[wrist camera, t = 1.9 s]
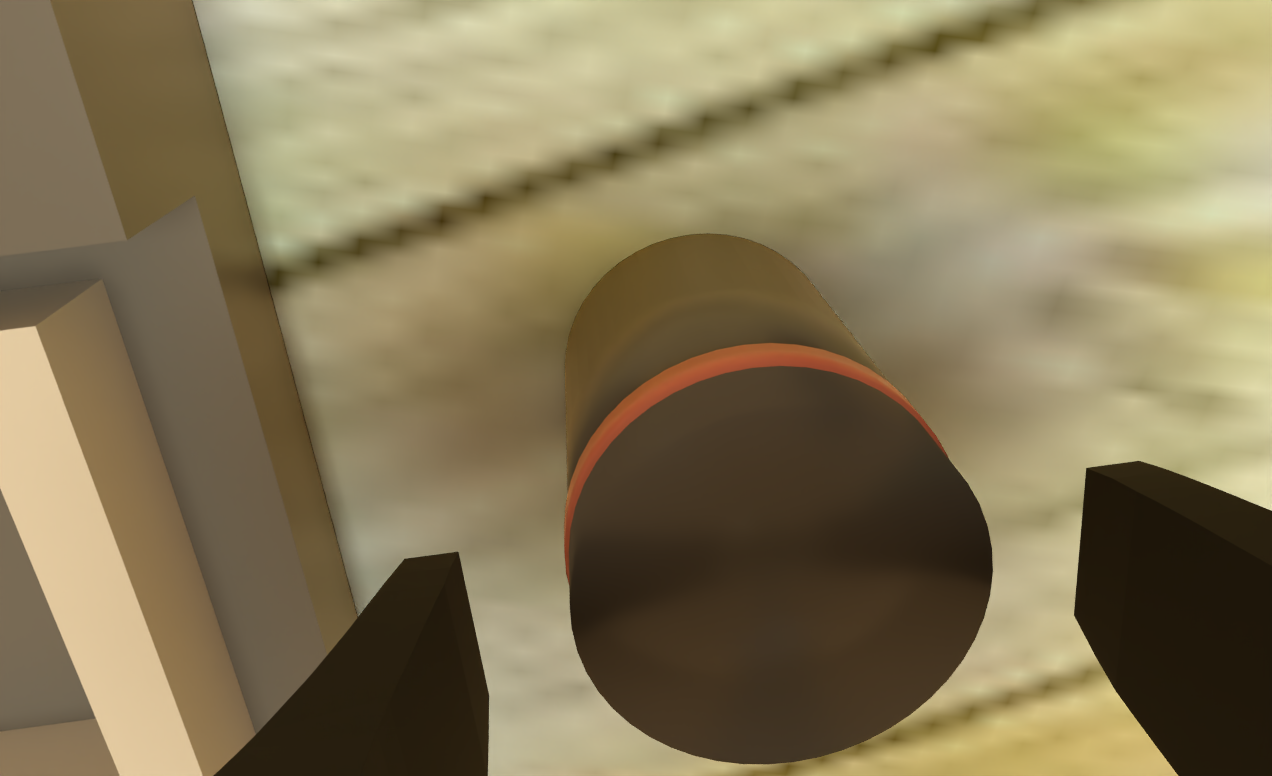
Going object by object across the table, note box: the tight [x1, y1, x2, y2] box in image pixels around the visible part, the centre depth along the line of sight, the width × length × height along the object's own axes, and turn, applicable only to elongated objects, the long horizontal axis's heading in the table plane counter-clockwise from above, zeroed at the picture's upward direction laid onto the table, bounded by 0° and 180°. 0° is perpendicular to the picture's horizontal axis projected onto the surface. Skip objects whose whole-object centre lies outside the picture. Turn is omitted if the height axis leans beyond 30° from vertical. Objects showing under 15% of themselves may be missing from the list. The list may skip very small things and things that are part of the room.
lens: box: [564, 234, 993, 764], centre depth 15 cm, size 5×5×7 cm
